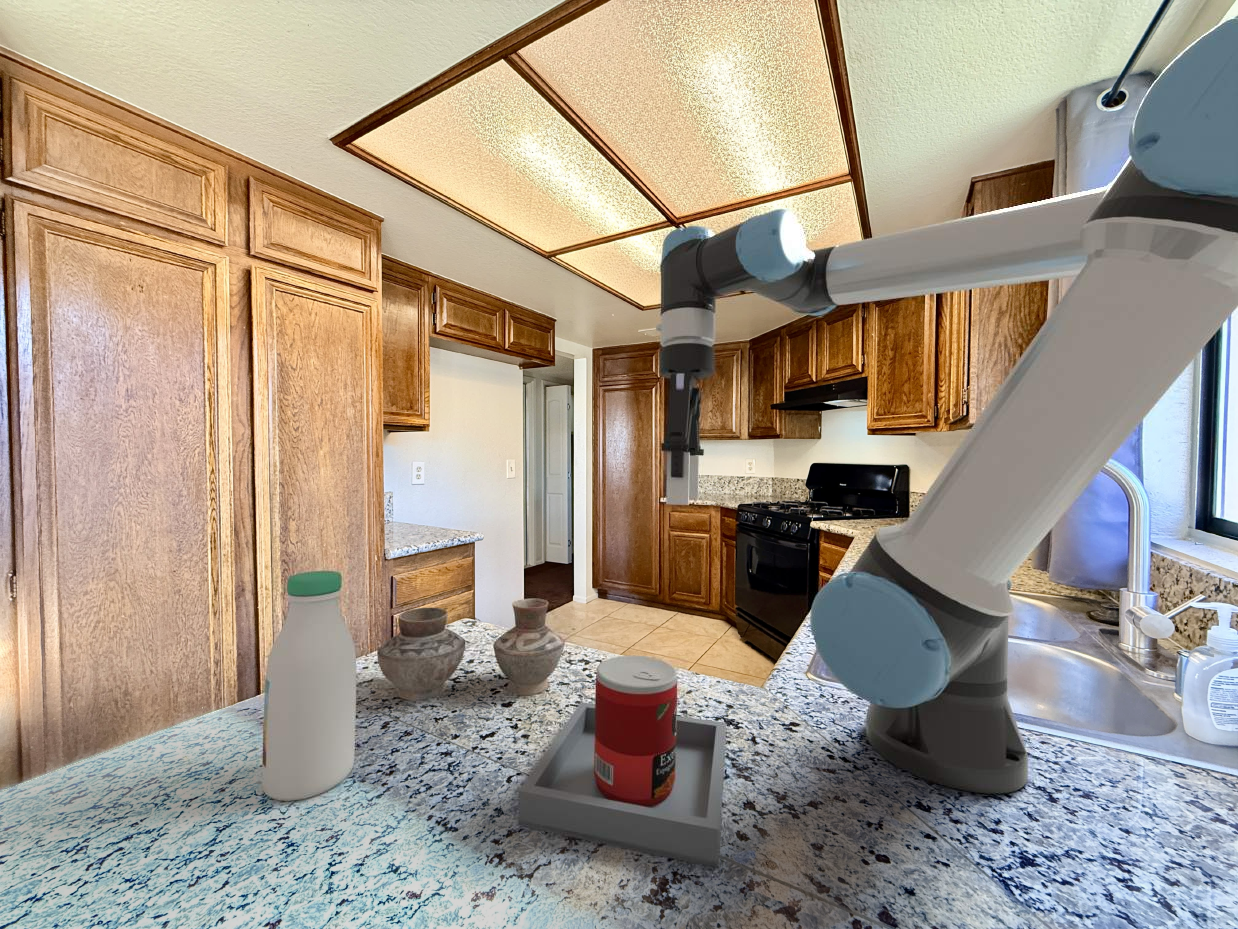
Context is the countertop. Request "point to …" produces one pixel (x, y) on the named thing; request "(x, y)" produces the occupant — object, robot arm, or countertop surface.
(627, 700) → the canned food
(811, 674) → the countertop surface
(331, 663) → the milk bottle
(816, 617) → the robot arm
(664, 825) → the tray
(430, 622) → the pottery
